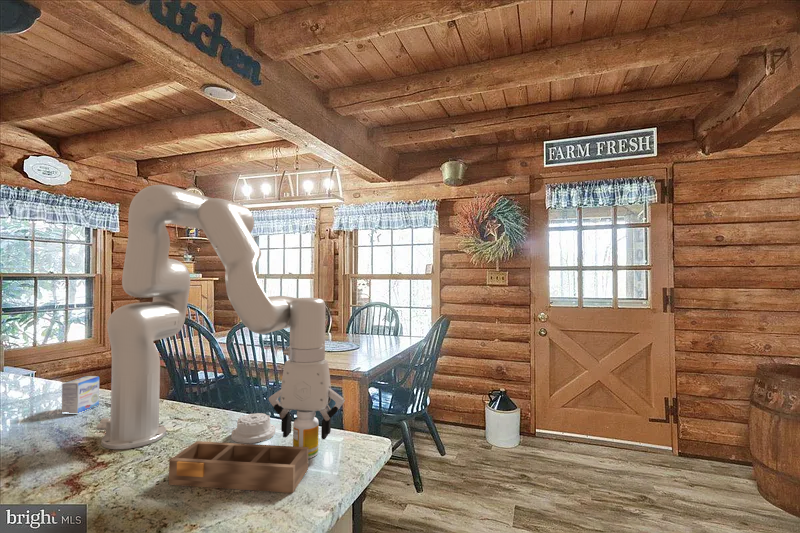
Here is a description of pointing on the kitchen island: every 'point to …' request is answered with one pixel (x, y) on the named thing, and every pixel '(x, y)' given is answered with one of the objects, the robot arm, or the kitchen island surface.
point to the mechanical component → (253, 428)
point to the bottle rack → (239, 466)
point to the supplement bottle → (306, 431)
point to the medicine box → (80, 394)
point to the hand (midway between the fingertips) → (306, 435)
